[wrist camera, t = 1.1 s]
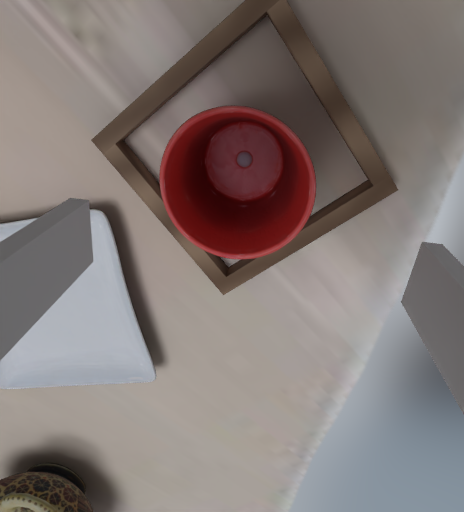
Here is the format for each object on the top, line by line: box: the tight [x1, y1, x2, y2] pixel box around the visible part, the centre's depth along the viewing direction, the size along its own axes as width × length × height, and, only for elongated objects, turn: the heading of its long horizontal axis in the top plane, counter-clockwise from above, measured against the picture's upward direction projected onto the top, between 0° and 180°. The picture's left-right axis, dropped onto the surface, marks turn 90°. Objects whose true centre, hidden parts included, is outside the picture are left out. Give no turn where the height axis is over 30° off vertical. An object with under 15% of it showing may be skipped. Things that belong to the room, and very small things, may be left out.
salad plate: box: [0, 209, 156, 389], centre depth 43 cm, size 21×21×3 cm
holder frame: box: [92, 0, 398, 295], centre depth 34 cm, size 19×19×2 cm
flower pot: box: [160, 106, 316, 259], centre depth 30 cm, size 11×11×10 cm
